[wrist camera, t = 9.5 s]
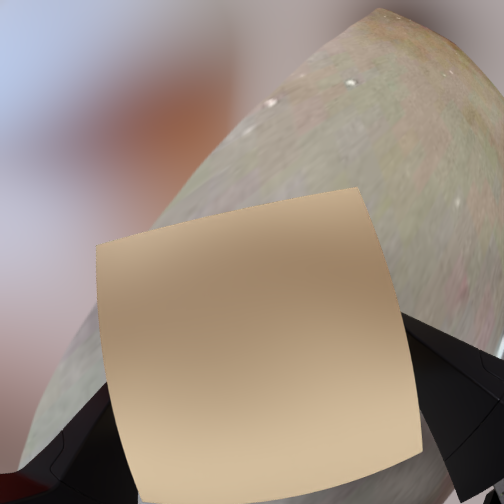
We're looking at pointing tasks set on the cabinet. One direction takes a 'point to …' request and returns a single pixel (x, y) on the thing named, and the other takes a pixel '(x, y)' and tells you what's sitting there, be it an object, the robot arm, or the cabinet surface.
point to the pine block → (256, 353)
